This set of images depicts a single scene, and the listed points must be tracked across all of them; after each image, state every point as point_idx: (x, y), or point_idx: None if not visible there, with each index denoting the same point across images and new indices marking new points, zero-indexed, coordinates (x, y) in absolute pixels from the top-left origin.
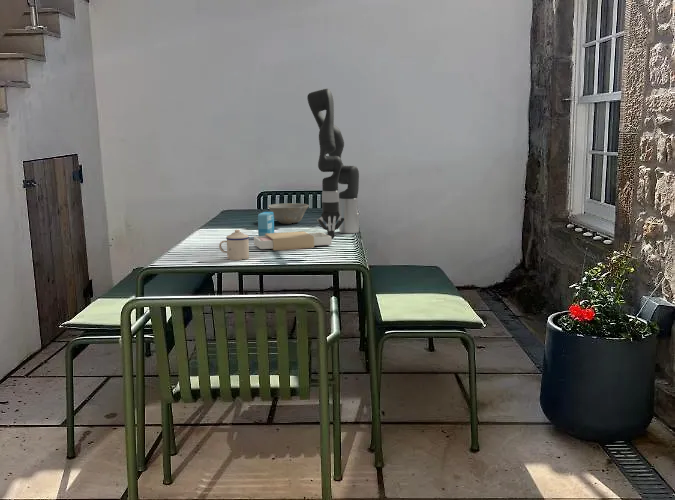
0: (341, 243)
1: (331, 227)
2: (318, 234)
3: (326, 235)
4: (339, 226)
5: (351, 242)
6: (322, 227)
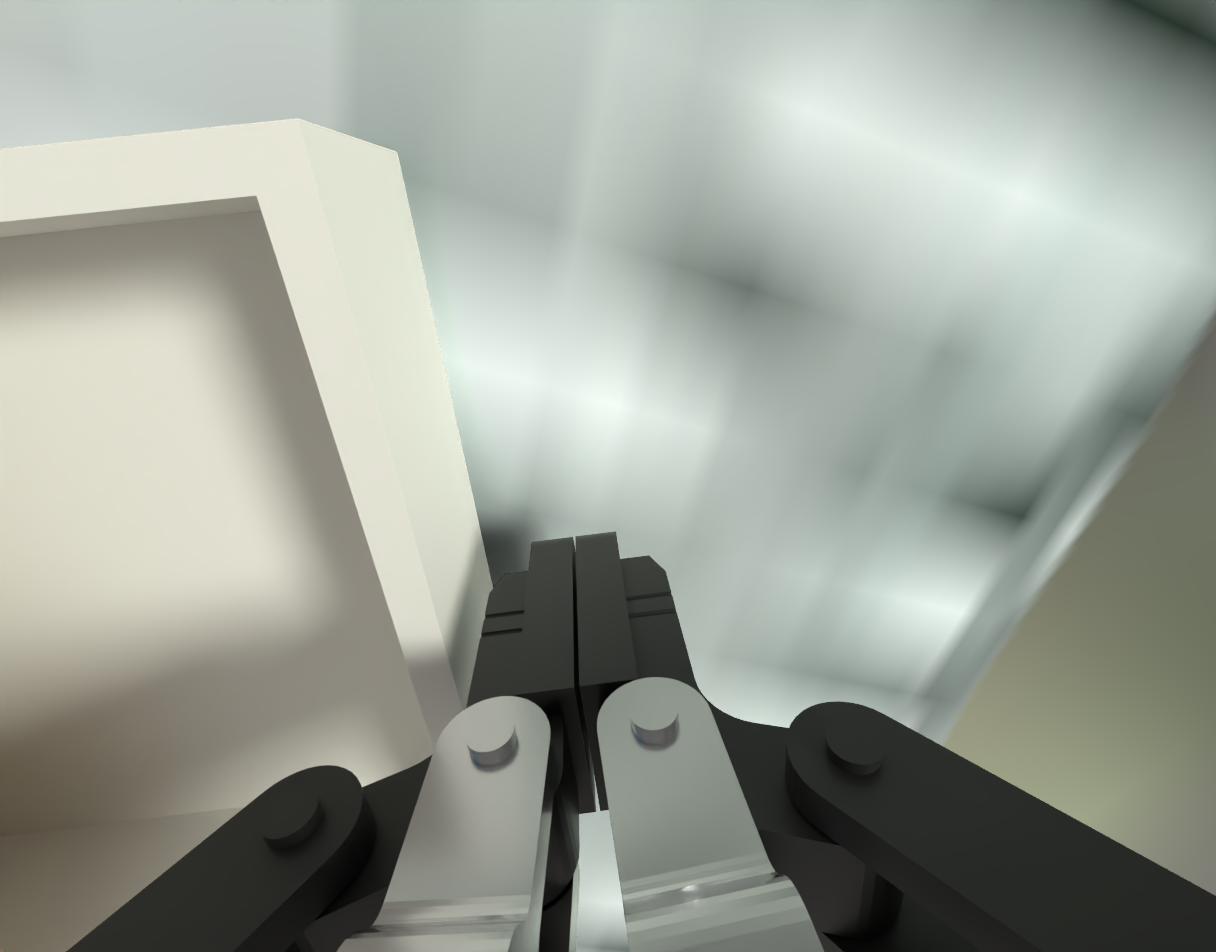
0: (779, 568)
1: (643, 821)
2: (168, 210)
3: (436, 734)
4: (974, 949)
5: (1007, 510)
6: (176, 890)
